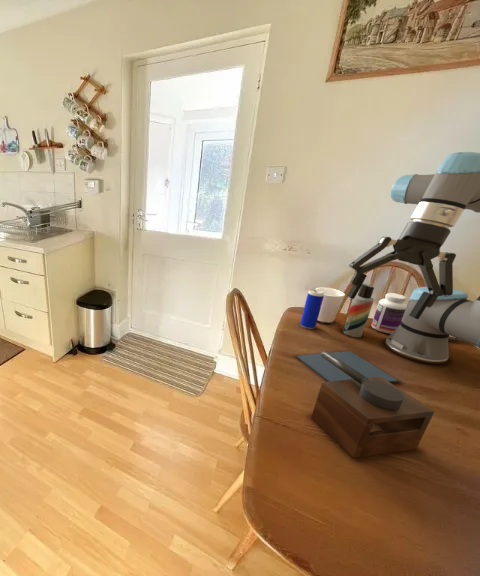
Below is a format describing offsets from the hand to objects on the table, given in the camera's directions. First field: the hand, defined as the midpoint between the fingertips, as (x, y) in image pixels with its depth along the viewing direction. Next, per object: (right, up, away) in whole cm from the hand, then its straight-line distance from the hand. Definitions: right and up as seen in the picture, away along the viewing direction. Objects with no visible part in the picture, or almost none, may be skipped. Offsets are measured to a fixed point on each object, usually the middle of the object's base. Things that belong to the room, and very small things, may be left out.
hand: (380, 307), depth 78 cm
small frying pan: (-9, -18, -3) cm, 20 cm away
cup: (+22, -9, +51) cm, 56 cm away
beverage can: (+13, -11, +46) cm, 49 cm away
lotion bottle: (+26, -13, +40) cm, 49 cm away
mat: (+6, -21, +20) cm, 29 cm away
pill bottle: (+40, -12, +43) cm, 60 cm away
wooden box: (-8, -30, -4) cm, 31 cm away
